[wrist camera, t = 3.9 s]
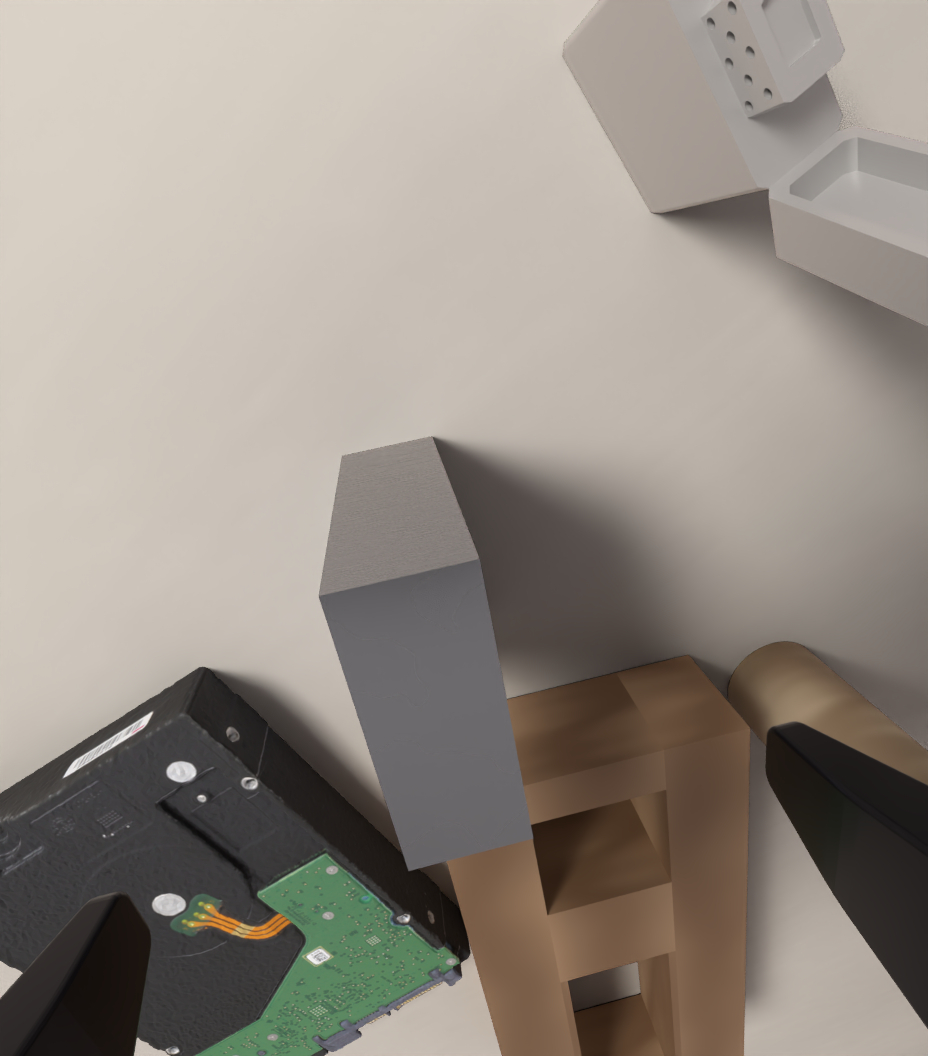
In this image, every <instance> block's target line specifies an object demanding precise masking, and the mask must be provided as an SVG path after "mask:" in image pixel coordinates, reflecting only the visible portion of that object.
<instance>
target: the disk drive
mask: <svg viewBox="0 0 928 1056" xmlns="http://www.w3.org/2000/svg"><path fill="white" fill-rule="evenodd" d="M118 891H123V892H125V893H127V894H128V895H129V896H130V898H131V899H132V901H133V902H134V904H135V905H136V907H137V909H138V910H139V912H140V913H141V915H142V917H143V918H144V920H145V921H146V923H147V925H148V927H149V929H150V933H151V952H150V958H149V964H148V970H147V977H146V983H145V989H144V995H143V1002H142V1008H141V1014H140V1020H139V1027H138V1033H137V1037H139V1039H140V1040H141V1041H144V1042H147V1043H149V1045H150V1046H152V1047H153V1048H155V1049H157V1050H163V1051H166V1053H167V1054H168V1055H170V1056H325V1055H326V1054H327V1053H328V1051H331V1052H334V1051H337V1050H338V1049H341V1048H343V1047H344V1046H345V1045H347V1044H349V1043H351V1042H353V1041H354V1040H356V1039H358V1038H359V1037H361V1032H360V1031H358V1029H359V1028H360V1027H362V1026H364V1025H365V1024H371V1023H373V1022H374V1021H376V1020H378V1019H379V1018H381V1017H383V1016H385V1015H388V1016H390V1015H391V1013H390V1010H392V1009H393V1008H394V1009H395V1010H397V1011H398V1010H399V1009H400V1008H401V1007H402V1006H403V1005H404V1004H407V1003H408V1002H410V1001H412V1000H413V999H415V998H417V997H419V996H421V995H422V994H424V993H426V992H428V991H430V990H431V989H433V988H435V987H437V986H438V985H440V984H442V981H444V982H446V983H447V984H448V985H449V986H453V985H454V984H455V982H456V981H458V980H460V979H461V978H462V972H461V962H463V961H464V960H466V959H468V958H469V955H470V948H469V941H468V936H467V931H466V928H465V924H464V921H463V917H462V914H461V910H460V909H459V908H458V907H457V906H456V905H455V904H454V903H453V902H452V901H451V900H449V898H448V897H447V896H446V895H445V894H444V893H443V892H441V891H440V889H439V887H438V886H437V885H436V884H435V883H434V882H433V881H431V879H430V878H429V877H428V876H427V875H426V874H424V873H423V872H421V871H420V870H418V869H415V870H411V871H408V868H407V865H406V862H405V859H404V856H403V854H402V853H401V852H400V851H398V850H397V849H396V848H395V847H394V846H393V845H392V844H391V843H390V842H389V841H388V840H387V839H386V838H385V837H384V836H383V835H382V834H381V833H380V832H379V831H378V830H376V829H375V828H374V827H373V825H371V824H370V823H369V822H368V821H367V820H366V819H365V818H364V817H363V815H361V814H360V813H359V812H358V811H357V810H356V809H355V808H354V807H353V806H351V805H350V804H349V803H348V801H346V799H345V798H343V797H342V796H341V795H340V794H339V793H338V792H337V791H336V790H335V789H334V788H333V787H332V786H331V785H329V784H328V782H327V781H325V780H324V779H323V778H322V777H321V776H320V775H319V774H318V773H317V772H316V771H315V770H313V769H312V768H311V767H310V765H309V764H307V763H306V762H305V761H304V760H303V759H302V758H301V757H300V756H299V755H298V754H297V753H296V752H295V751H294V750H293V749H292V748H291V747H290V746H289V745H288V744H287V743H286V742H285V741H284V740H283V739H282V738H280V737H279V736H278V735H277V734H276V733H275V732H274V731H273V730H272V729H271V728H270V727H269V726H268V724H267V722H266V721H265V720H264V719H263V718H261V717H260V716H259V714H258V713H257V712H256V711H255V710H254V709H252V708H251V707H250V706H249V705H248V704H247V703H246V702H245V701H244V700H243V699H242V698H241V697H240V696H239V695H237V694H234V693H233V692H232V691H231V690H230V689H229V688H228V687H227V685H225V684H224V683H223V682H222V681H221V680H220V679H217V677H216V676H215V674H214V673H213V672H212V671H211V670H210V669H208V668H206V667H199V668H198V669H196V670H195V671H193V672H191V673H190V674H189V675H187V676H185V677H184V678H182V679H181V680H179V681H177V682H176V683H175V684H174V685H172V686H171V687H168V688H166V689H164V690H163V691H162V692H161V693H160V694H158V695H156V696H154V697H152V698H150V699H149V700H147V701H146V702H144V703H142V704H141V705H139V706H138V707H136V708H135V709H133V710H131V711H130V712H128V713H127V714H125V715H124V716H123V717H121V718H119V719H118V720H116V721H114V722H113V723H111V724H109V725H108V726H107V727H105V728H103V729H101V730H99V731H98V732H97V733H95V734H94V735H92V736H90V737H88V738H87V739H85V740H84V741H82V742H81V743H79V744H77V745H76V746H75V747H74V748H72V749H70V750H68V751H67V752H65V753H64V754H62V755H61V756H59V757H57V758H56V759H54V760H53V761H51V762H49V763H48V764H46V765H45V766H43V767H42V768H40V769H38V770H36V771H35V772H34V773H32V774H31V775H29V776H27V777H25V778H24V779H22V780H21V781H20V782H18V783H16V784H15V785H13V786H11V787H10V788H8V789H7V790H5V791H3V792H2V793H1V794H0V961H2V962H3V963H5V964H6V965H8V966H9V967H13V968H16V969H18V970H20V971H21V972H22V973H24V971H25V970H26V969H27V968H28V967H29V966H30V965H31V964H32V962H33V961H34V960H35V959H36V958H37V957H38V956H39V955H40V954H41V952H42V951H43V950H44V949H45V948H46V947H47V946H48V945H49V944H50V942H51V941H52V940H53V939H54V938H55V937H56V936H57V935H58V934H59V932H60V931H61V930H62V929H63V928H64V927H65V926H66V925H67V923H68V922H69V921H70V920H71V919H72V918H73V917H74V916H75V915H76V913H77V912H78V911H79V910H80V909H81V908H82V907H83V906H84V905H85V904H86V903H87V902H88V901H89V900H91V899H93V898H95V897H98V896H102V895H106V894H110V893H114V892H118Z"/></svg>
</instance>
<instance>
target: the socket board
mask: <svg viewBox="0 0 928 1056" xmlns="http://www.w3.org/2000/svg"><path fill="white" fill-rule="evenodd" d="M507 703H508V709H509V714H510V719H511V724H512V729H513V735H514V740H515V745H516V750H517V755H518V761H519V766H520V771H521V776H522V781H523V787H524V792H525V797H526V802H527V807H528V813H529V818H530V823H531V828H532V833H533V838H534V839H530V840H526V841H522V842H518V843H515V844H511V845H507V846H503V847H499V848H495V849H492V850H488V851H484V852H480V853H476V854H472V855H469V856H465V857H461V858H457V859H453V860H449V861H447V864H448V868H449V872H450V875H451V879H452V882H453V886H454V889H455V893H456V896H457V900H458V903H459V907H460V910H461V914H462V917H463V921H464V924H465V928H466V931H467V935H468V938H469V942H470V945H471V949H472V952H473V956H474V959H475V963H476V966H477V970H478V973H479V977H480V980H481V984H482V987H483V991H484V994H485V998H486V1001H487V1005H488V1008H489V1012H490V1015H491V1019H492V1022H493V1026H494V1029H495V1033H496V1036H497V1040H498V1043H499V1047H500V1051H501V1054H502V1056H744V1017H745V968H746V918H747V869H748V820H749V770H750V727H749V726H748V725H747V724H746V722H745V721H744V720H743V719H742V718H741V716H740V715H739V714H738V713H737V712H736V711H735V709H734V708H733V707H732V706H731V705H730V703H729V702H728V701H727V700H726V699H725V697H724V696H723V695H722V694H721V693H720V692H719V690H718V689H717V688H716V687H715V686H714V684H713V683H712V682H711V681H710V680H709V679H708V677H707V676H706V675H705V674H704V673H703V671H702V670H701V669H700V668H699V667H698V666H697V664H696V663H695V662H694V661H693V660H692V658H691V657H690V656H689V655H686V656H682V657H678V658H674V659H670V660H666V661H661V662H657V663H653V664H649V665H645V666H641V667H637V668H633V669H629V670H625V671H621V672H617V673H613V674H609V675H605V676H600V677H596V678H592V679H588V680H584V681H580V682H576V683H572V684H568V685H564V686H560V687H556V688H552V689H548V690H544V691H540V692H535V693H531V694H527V695H523V696H519V697H515V698H511V699H507ZM637 961H638V970H639V980H640V990H641V994H639V995H636V996H632V997H629V998H625V999H621V1000H618V1001H614V1002H611V1003H607V1004H604V1005H600V1006H596V1007H593V1008H589V1009H586V1010H582V1011H579V1012H575V1013H574V1012H573V1007H572V1001H571V996H570V990H569V985H568V981H569V980H572V979H576V978H579V977H583V976H587V975H590V974H594V973H597V972H601V971H605V970H608V969H612V968H616V967H619V966H623V965H626V964H630V963H634V962H637Z"/></svg>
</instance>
